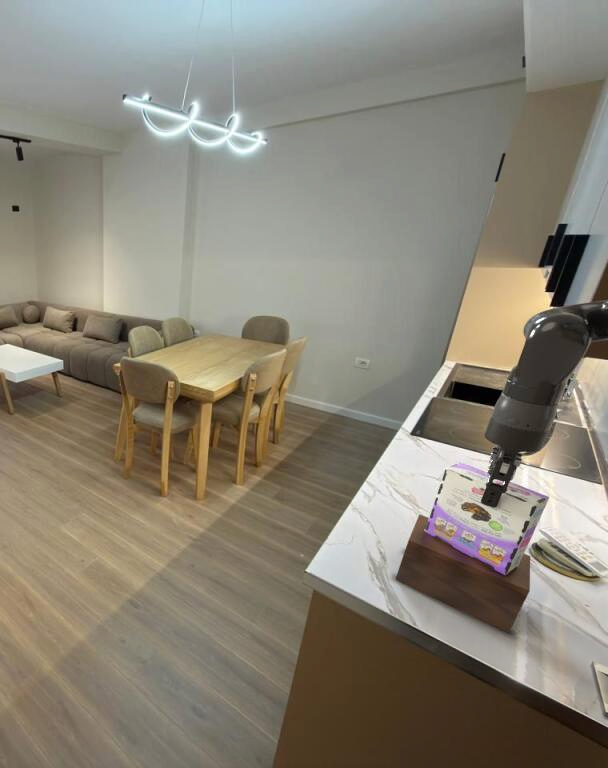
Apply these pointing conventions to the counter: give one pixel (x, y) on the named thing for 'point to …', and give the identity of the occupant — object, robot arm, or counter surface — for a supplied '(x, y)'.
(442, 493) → the candy box
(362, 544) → the counter surface
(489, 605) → the walnut wooden block
